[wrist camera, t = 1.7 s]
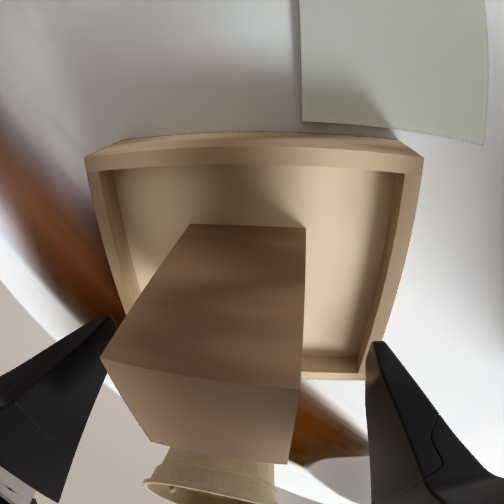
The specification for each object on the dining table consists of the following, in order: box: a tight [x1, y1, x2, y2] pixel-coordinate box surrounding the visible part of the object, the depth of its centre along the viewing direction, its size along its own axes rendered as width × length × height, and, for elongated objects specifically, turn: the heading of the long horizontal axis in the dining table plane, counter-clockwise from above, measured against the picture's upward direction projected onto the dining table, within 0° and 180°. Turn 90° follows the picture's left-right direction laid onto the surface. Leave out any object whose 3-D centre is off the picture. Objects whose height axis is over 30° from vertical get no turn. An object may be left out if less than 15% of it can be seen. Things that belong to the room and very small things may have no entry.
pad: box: [299, 0, 488, 145], centre depth 9 cm, size 8×8×1 cm
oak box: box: [84, 132, 424, 380], centre depth 13 cm, size 12×11×3 cm
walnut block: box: [100, 224, 306, 465], centre depth 10 cm, size 4×4×7 cm
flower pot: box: [143, 447, 278, 504], centre depth 19 cm, size 9×9×9 cm
